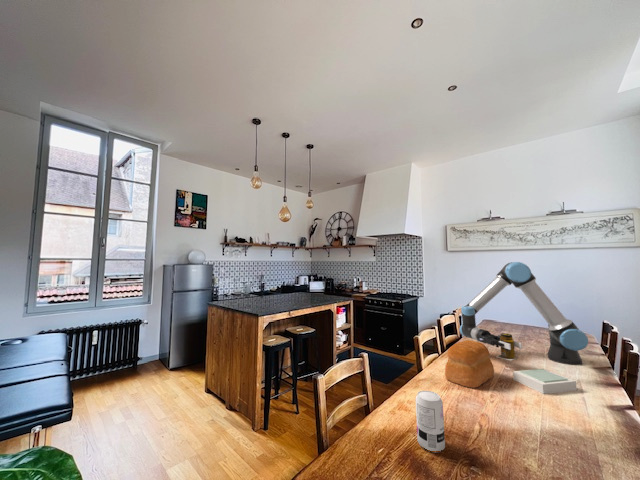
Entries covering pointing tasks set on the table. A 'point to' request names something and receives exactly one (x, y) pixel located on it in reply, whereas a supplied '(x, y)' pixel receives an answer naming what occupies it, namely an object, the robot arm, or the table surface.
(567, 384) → the riser
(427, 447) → the supplement can
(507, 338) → the condiment
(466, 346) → the bread
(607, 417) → the table surface
